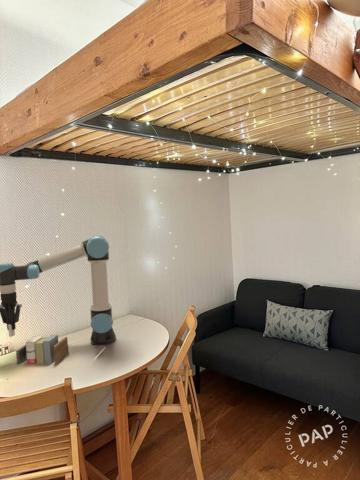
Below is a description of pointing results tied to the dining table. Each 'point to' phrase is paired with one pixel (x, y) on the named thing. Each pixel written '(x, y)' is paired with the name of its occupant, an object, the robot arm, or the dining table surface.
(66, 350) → the shelf
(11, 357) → the dining table surface
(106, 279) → the robot arm
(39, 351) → the book
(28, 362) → the ink box
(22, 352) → the bookend
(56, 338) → the book
